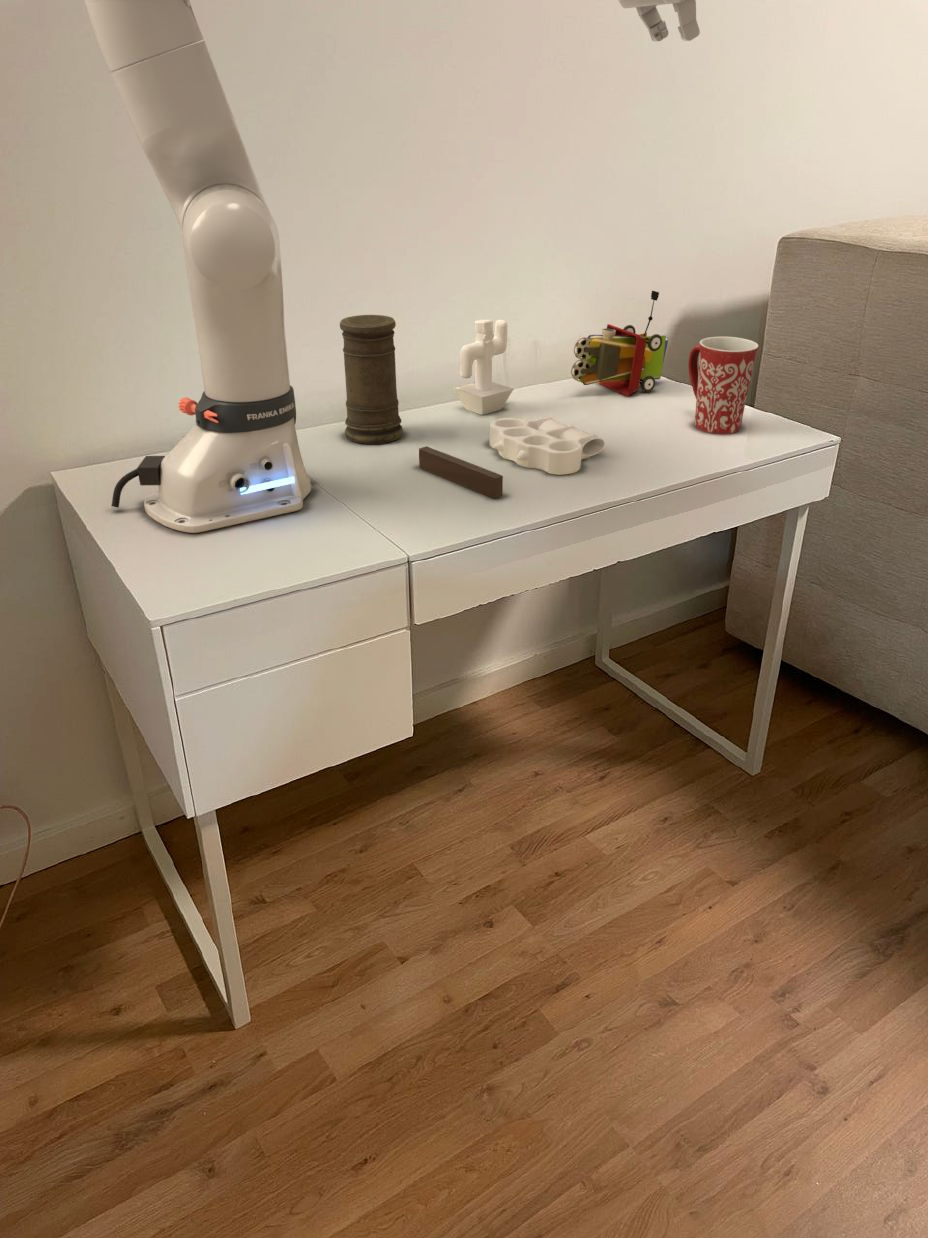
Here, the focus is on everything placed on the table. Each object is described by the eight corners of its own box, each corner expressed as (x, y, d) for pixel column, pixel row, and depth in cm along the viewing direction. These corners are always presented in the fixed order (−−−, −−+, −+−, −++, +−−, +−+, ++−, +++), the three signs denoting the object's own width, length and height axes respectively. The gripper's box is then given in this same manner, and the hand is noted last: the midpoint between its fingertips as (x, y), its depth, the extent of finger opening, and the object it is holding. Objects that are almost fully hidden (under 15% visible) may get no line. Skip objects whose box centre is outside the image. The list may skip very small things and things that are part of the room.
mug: (758, 431, 156) (771, 346, 149) (712, 439, 152) (723, 352, 146) (709, 409, 165) (719, 328, 159) (665, 416, 162) (673, 334, 155)
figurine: (448, 410, 166) (447, 320, 158) (489, 399, 171) (490, 311, 164) (476, 420, 161) (477, 328, 154) (517, 408, 166) (520, 318, 159)
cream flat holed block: (618, 460, 144) (542, 482, 137) (541, 428, 157) (467, 447, 150) (620, 438, 143) (542, 459, 135) (542, 408, 155) (467, 425, 148)
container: (412, 437, 154) (409, 321, 145) (362, 448, 149) (355, 329, 140) (384, 422, 160) (378, 310, 151) (335, 433, 156) (327, 318, 147)
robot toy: (675, 393, 177) (584, 399, 168) (645, 381, 184) (555, 385, 175) (693, 296, 169) (598, 296, 160) (660, 286, 176) (567, 286, 167)
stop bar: (494, 499, 132) (495, 478, 130) (419, 467, 142) (418, 448, 140) (502, 496, 132) (503, 475, 131) (427, 465, 143) (426, 445, 141)
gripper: (581, -61, 121) (623, 52, 128) (642, -80, 103) (686, 52, 111) (626, -90, 120) (665, 26, 128) (694, -113, 103) (735, 22, 110)
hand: (676, 38), depth 119 cm, fingers open, 8 cm apart
